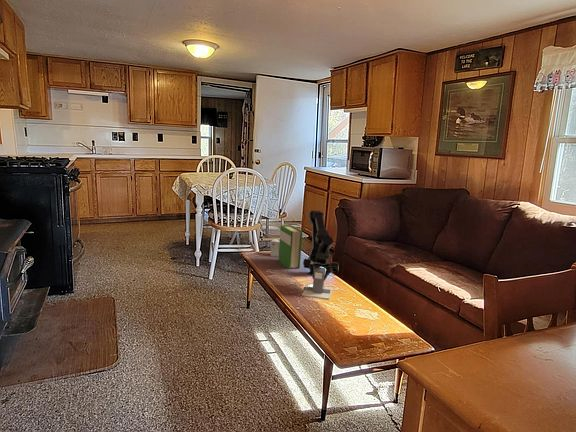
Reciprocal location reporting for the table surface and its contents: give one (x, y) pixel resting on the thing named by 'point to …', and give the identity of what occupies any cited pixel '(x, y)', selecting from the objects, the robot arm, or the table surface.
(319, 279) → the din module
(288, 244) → the hardback book
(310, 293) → the board
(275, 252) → the light bulb box
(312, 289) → the din rail
